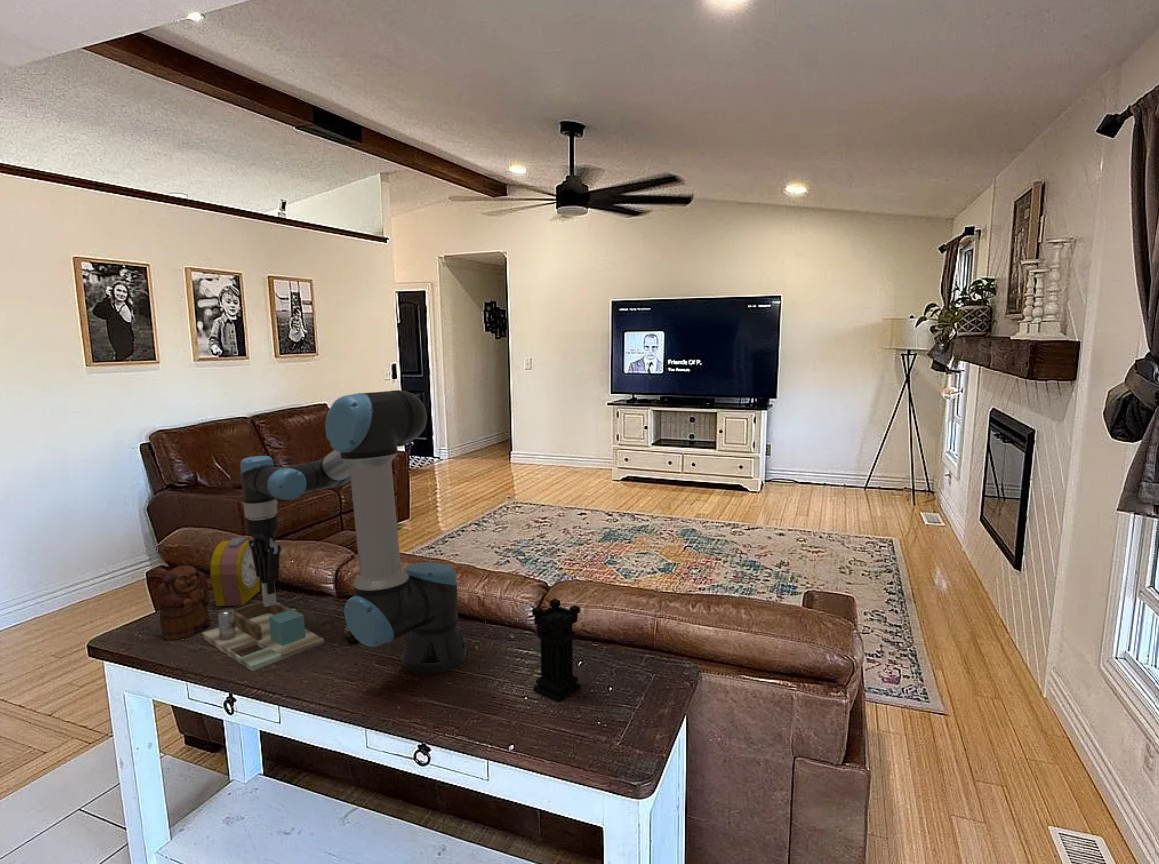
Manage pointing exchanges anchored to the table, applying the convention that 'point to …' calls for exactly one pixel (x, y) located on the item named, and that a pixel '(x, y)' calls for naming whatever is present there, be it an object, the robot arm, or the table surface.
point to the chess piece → (556, 650)
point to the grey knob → (226, 624)
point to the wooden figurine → (183, 602)
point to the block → (287, 627)
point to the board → (260, 645)
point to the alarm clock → (233, 573)
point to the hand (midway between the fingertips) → (270, 604)
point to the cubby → (253, 611)
